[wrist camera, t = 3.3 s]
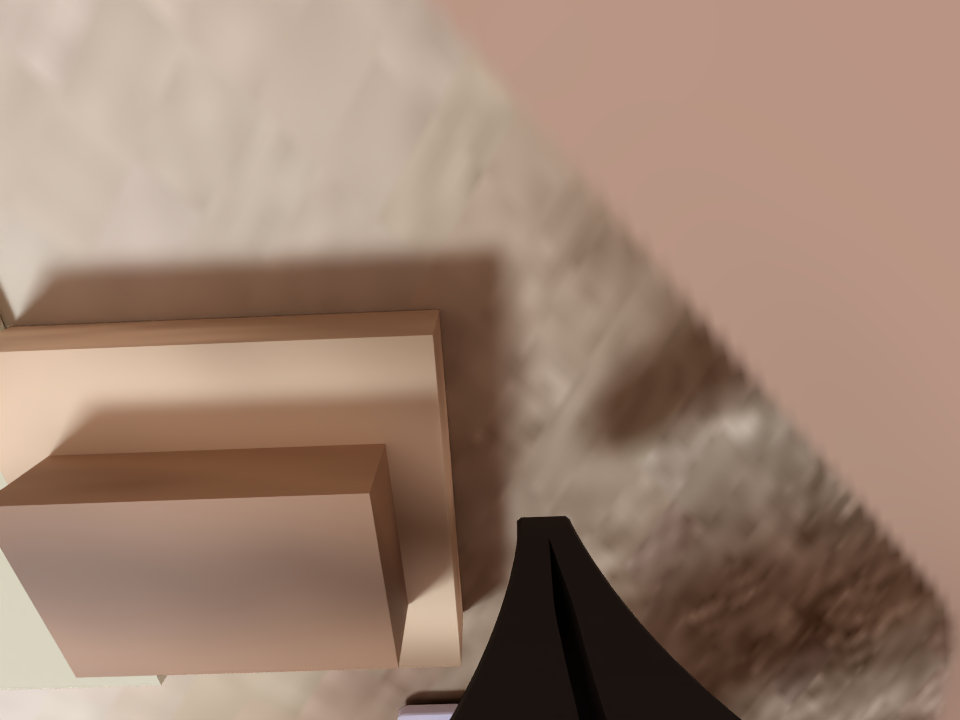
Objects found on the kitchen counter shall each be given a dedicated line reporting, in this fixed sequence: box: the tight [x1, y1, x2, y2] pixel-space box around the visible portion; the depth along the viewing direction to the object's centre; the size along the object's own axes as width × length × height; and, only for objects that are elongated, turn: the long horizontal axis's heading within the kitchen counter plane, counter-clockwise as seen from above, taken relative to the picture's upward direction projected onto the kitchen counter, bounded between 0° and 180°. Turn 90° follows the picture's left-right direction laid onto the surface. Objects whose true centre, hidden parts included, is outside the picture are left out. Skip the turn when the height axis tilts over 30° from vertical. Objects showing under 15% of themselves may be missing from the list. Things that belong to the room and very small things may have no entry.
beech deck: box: [0, 310, 463, 677], centre depth 15 cm, size 12×12×2 cm
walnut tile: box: [0, 444, 408, 678], centre depth 13 cm, size 6×9×2 cm, turn 92°
